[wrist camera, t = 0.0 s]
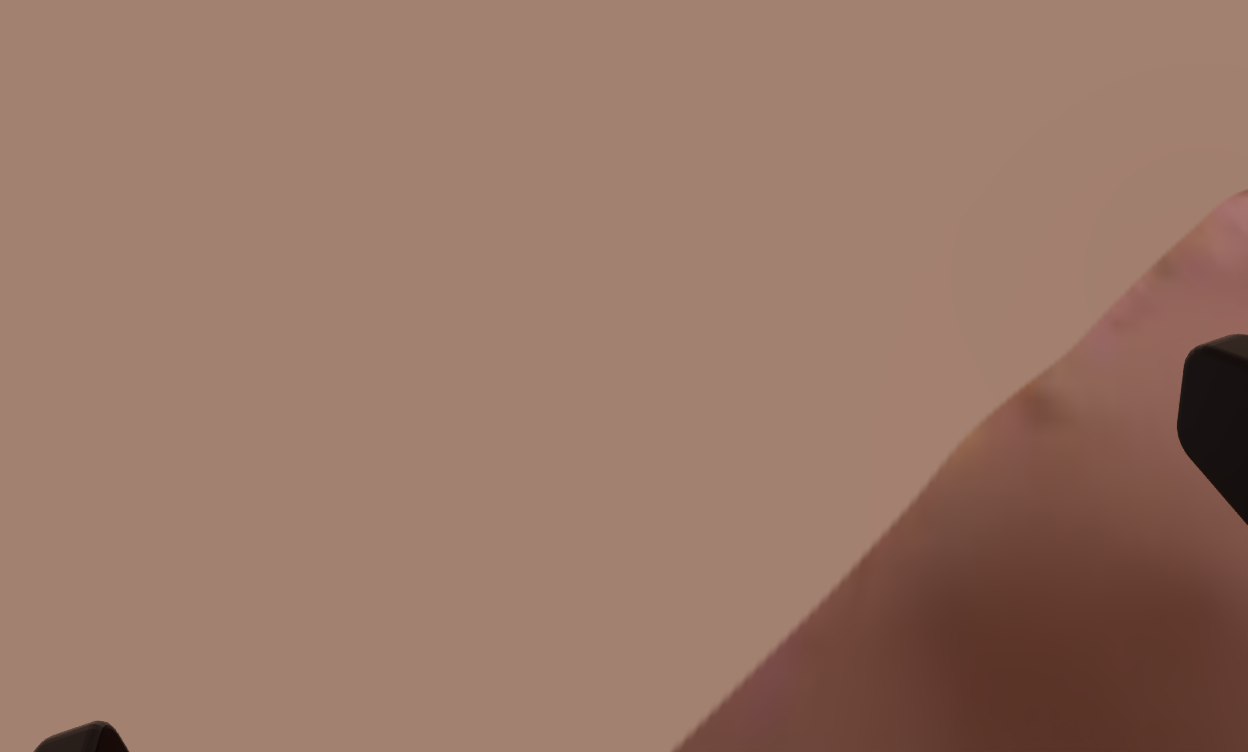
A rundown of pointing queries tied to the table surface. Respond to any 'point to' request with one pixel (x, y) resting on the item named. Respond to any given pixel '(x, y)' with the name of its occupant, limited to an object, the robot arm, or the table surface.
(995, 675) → the table surface
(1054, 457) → the table surface
